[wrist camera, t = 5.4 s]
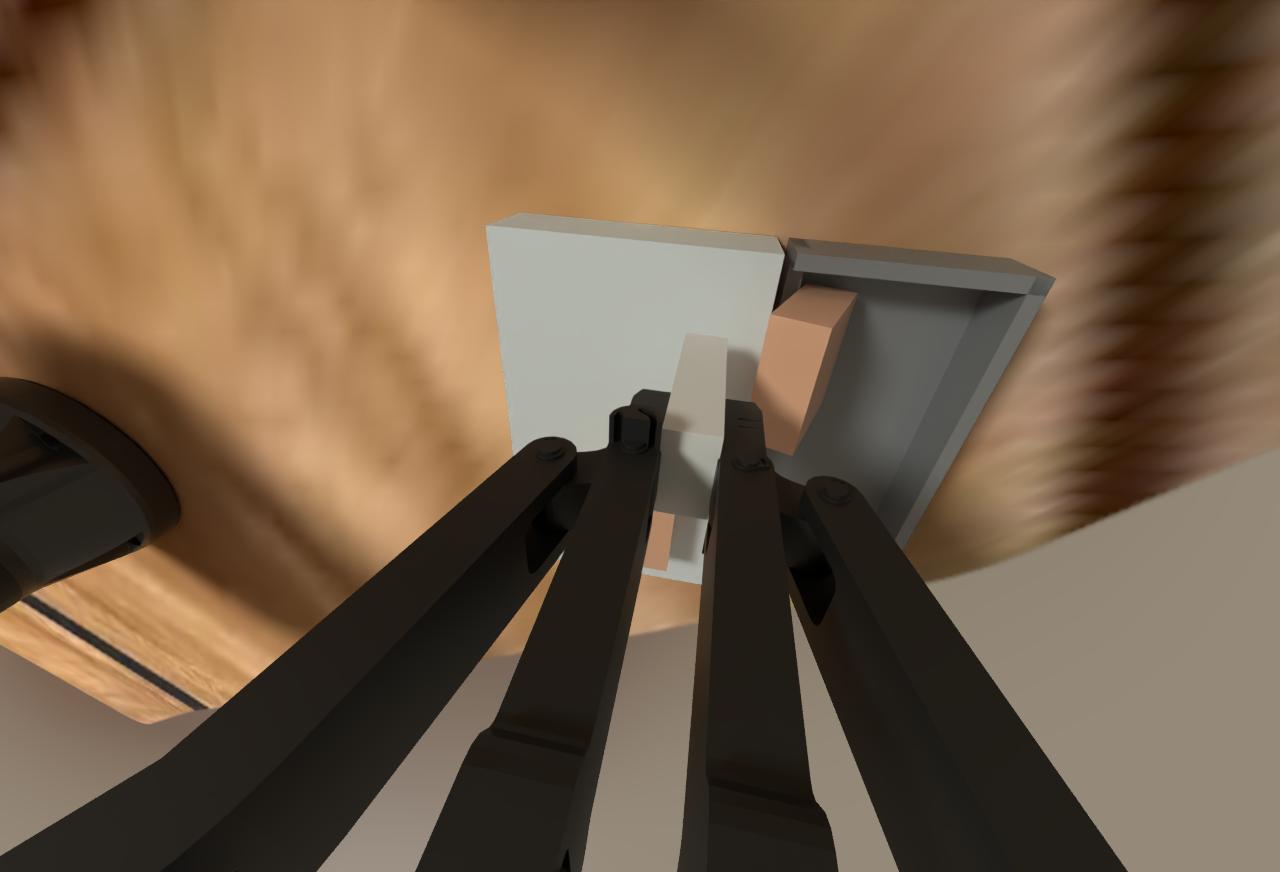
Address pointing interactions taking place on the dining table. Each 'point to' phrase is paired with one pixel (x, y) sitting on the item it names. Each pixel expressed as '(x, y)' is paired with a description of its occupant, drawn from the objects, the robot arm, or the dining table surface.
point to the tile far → (659, 541)
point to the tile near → (799, 361)
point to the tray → (906, 365)
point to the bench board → (621, 325)
